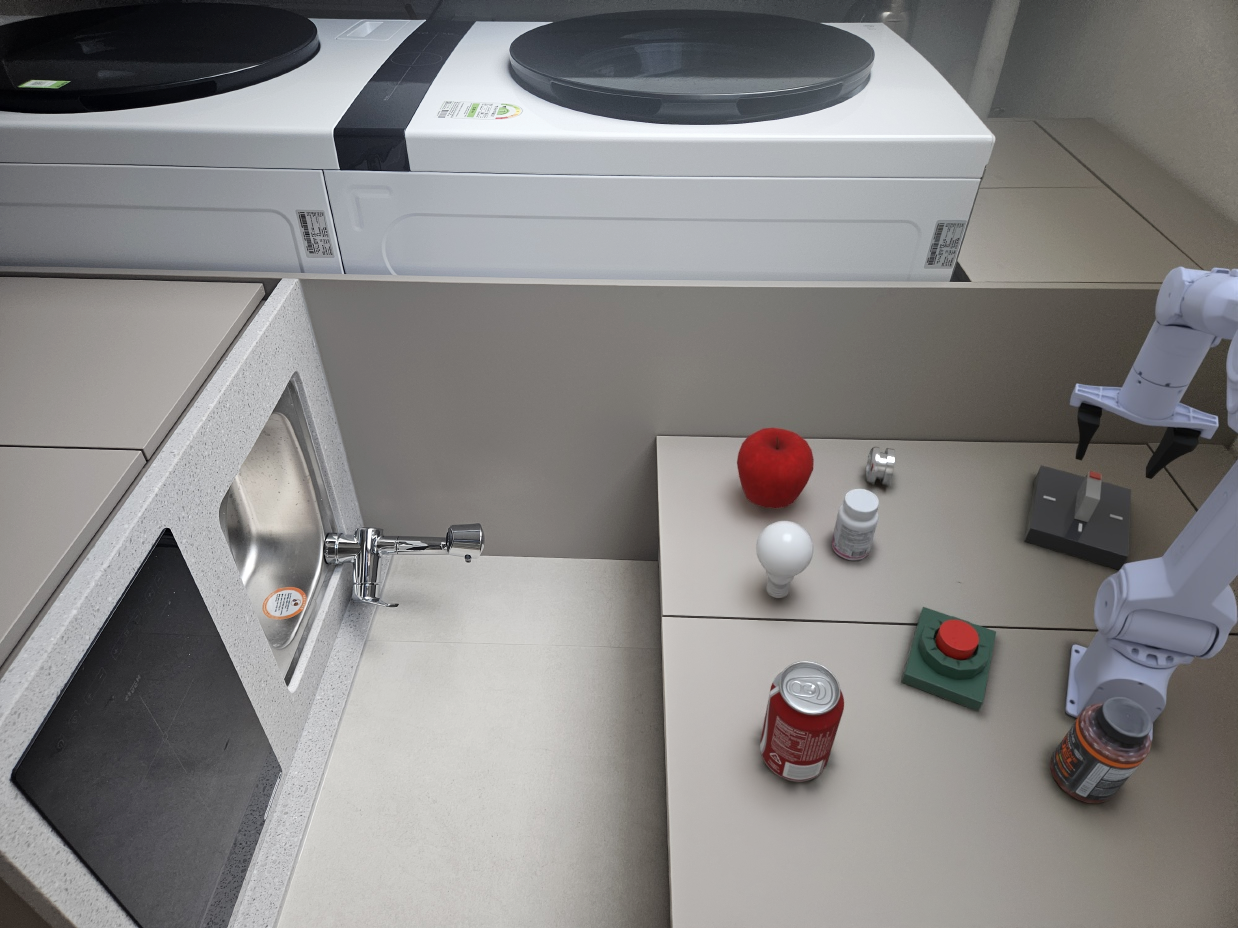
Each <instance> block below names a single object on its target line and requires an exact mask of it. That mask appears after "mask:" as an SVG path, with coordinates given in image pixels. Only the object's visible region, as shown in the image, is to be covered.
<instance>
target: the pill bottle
mask: <svg viewBox="0 0 1238 928" xmlns="http://www.w3.org/2000/svg"><path fill="white" fill-rule="evenodd" d="M879 504H880V500H879V498H878V496H877V495H876V494H875V493H874V492H872V491H870V490H868V489H864V488H854V489H850V490H849V491H847V493H846V494H845V495H844V500H843V503H842V504H841V505H840V506H839V509H838V511H837V516H836V521H835V525H834V529H833V533H832V537H831V549H832V550H833V552H835V554H837V556H839V557H841V558H842V559H845V560H849V561H861V560H863V559H865V558H866V557H867V556H868V555H869V553H870V552H871V547H872V544H873V540H874V537H875V536H874V535H875V534H876V533H875V532H876V529H877V525H878V522H879V512H878V510H879Z"/></svg>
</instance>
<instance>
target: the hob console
mask: <svg viewBox="0 0 1238 928" xmlns="http://www.w3.org/2000/svg"><path fill="white" fill-rule="evenodd" d="M1085 477H1086V476H1083V475H1080V474H1076V473H1071V472H1067V471H1065V470H1060V469H1057V468H1053V467H1050V466H1045V465H1042V464H1041V465H1040V467H1039V469H1038V470H1037V473H1036V475H1035V477H1034V482H1033V488H1032V493H1031V498H1030V499H1031V500H1030V505H1029V511H1028V517H1027V523H1026V529H1025V534H1024V542H1026V543H1028V544H1032V545H1036V546H1038V547H1042V548H1045V549H1049V550H1051V551H1055V552H1058V553H1061V554H1065V555H1068V556H1072V557H1075V558H1078V559H1081V560H1085V561H1088V562H1092V563H1095V564H1098V565H1102V566H1105V567H1108V568H1111V569H1115V570H1118V571H1119V570H1120V569H1121V568H1122V567H1123V565H1124V564H1126V562H1127V560H1128V558H1129V552H1130V551H1129V550H1130V549H1129V548H1130V547H1129V546H1130V527H1131V526H1130V524H1131V504H1132V489H1130V488H1127V487H1123V486H1120V485H1118V484H1117V485H1116V484H1112V483H1109V482H1105V481H1103V480H1102V481H1101V493H1100V500H1099V502H1098V504H1097V506H1096V508H1095V510H1094V512H1093V514H1092V515H1091V517H1090V519H1089V521H1088V522H1085V521H1081V520H1078V519H1074V515H1075V506H1076V497H1077V492H1078V490H1079V488H1080V487H1081V485H1082V483H1083V481H1084V479H1085Z"/></svg>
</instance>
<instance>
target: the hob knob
mask: <svg viewBox="0 0 1238 928" xmlns="http://www.w3.org/2000/svg"><path fill="white" fill-rule="evenodd" d="M1084 477H1085V479H1084V481H1083V483H1082V485H1081V487H1080V488H1079V490H1078V492H1077V497H1076V506H1075V515H1074V519H1078V520H1081V521H1085V522H1088V521H1089V519H1090V517H1091V515H1092V514H1093V512H1094V510H1095V508H1096V506H1097V504H1098V502H1099V500H1100V493H1101V481H1102V482H1103V480H1102V479H1103V475H1102V473H1099V472H1095V471H1092V470H1090V471H1087V473H1086V475H1085V476H1084Z"/></svg>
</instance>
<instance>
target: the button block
mask: <svg viewBox="0 0 1238 928" xmlns="http://www.w3.org/2000/svg"><path fill="white" fill-rule="evenodd" d="M948 620H960V621H963V622H965V623H967V624H969V625H970V626H972V627H973V628H974V629H975V631H976V632H977V634H978V637H979V642H978V645H977V647H976V649H975V651H974V653H973V655H972V656H971V657H969V658H967V659H964V660H957V659H953V658H950V657H948V656H946V655H945V654H943V653H942V652H941V651H940V650H939V648H938V646H937V644H936V636H937V633H938V631H939V629H940V626H941V625H942V624H943V623H944V622H945V621H948ZM996 636H997V631H996V630H993V629H990V628H987V627H984V626H981V625H978V624H976V623H973V622H970V621H968V620H965V619H963V618H960V617H956V616H954V615H949V614H946V613H943V612H940V611H938V610H934V609H931V608H929V607H926V606H922V609H921V611H920V613H919V617H918V620H917V624H916V627H915V631H914V635H913V638H912V642H911V645H910V649H909V653H908V657H907V660H906V664H905V667H904V671H903V675H902V679H901V683H903V684H905V685H908V686H910V687H912V688H915V689H919V690H921V691H924V692H926V693H928V694H931V695H934V696H937V697H939V698H942V699H944V700H948V701H950V702H952V703H955V704H959V705H961V706H964V707H966V708H969V709H972V710H974V711H976V712H979V711H980V709H981V708H982V706H983V704H984V700H985V695H986V689H987V683H988V678H989V673H990V668H991V664H992V663H991V662H992V657H993V651H994V646H995V641H996Z"/></svg>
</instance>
